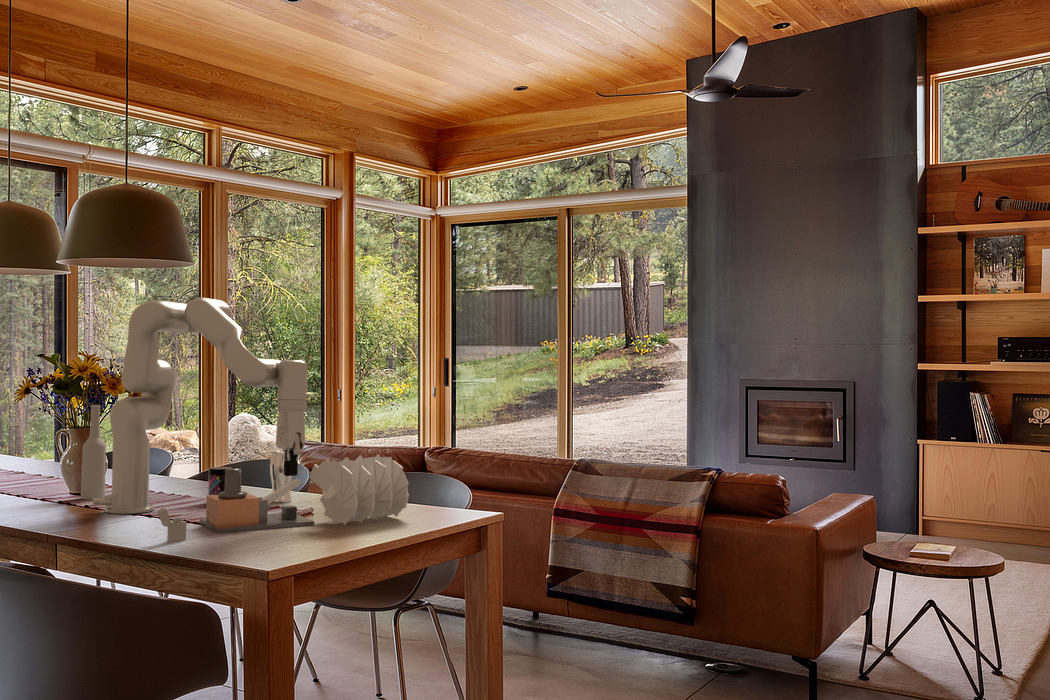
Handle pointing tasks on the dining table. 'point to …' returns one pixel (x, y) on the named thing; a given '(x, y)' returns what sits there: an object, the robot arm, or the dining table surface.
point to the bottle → (93, 460)
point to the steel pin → (232, 485)
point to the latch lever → (283, 490)
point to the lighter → (173, 526)
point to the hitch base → (262, 525)
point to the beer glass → (279, 475)
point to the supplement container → (216, 480)
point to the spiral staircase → (361, 488)
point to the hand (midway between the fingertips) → (290, 475)
